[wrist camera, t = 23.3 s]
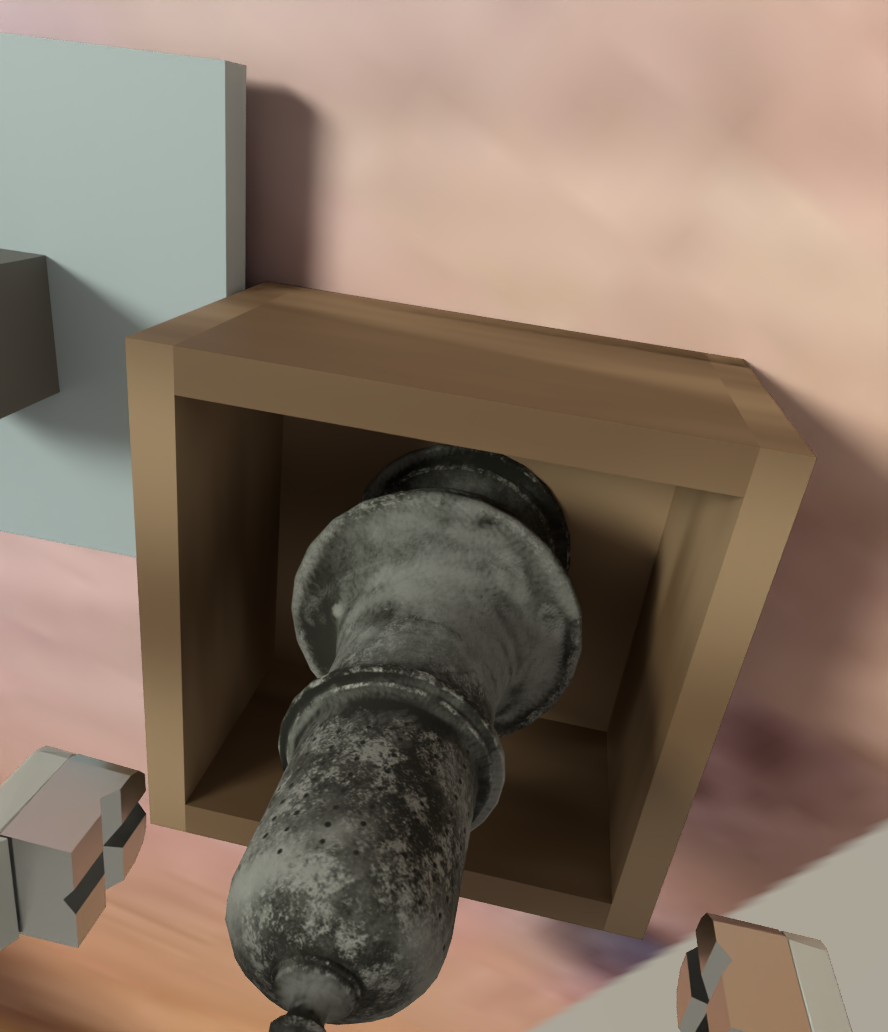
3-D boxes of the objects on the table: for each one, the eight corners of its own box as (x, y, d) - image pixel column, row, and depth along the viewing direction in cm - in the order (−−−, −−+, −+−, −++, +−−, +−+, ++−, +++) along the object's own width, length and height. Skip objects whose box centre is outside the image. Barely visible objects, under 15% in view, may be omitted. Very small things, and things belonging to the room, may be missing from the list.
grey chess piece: (636, 570, 18) (705, 1169, 7) (449, 688, 20) (297, 1276, 10) (471, 377, 17) (269, 765, 6) (292, 526, 19) (-81, 998, 8)
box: (629, 741, 21) (642, 940, 16) (256, 661, 22) (150, 823, 17) (743, 359, 17) (816, 457, 11) (266, 281, 18) (124, 337, 12)
